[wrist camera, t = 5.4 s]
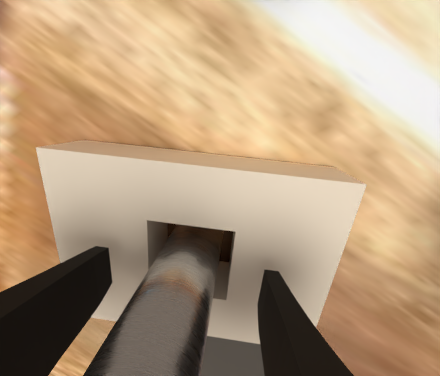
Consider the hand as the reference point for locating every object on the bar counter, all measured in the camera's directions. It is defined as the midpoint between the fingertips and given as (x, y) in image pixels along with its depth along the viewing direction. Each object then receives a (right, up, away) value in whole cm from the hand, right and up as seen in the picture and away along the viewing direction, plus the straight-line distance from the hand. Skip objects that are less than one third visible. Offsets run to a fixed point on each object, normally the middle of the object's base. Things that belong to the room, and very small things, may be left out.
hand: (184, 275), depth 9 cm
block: (0, +1, +4) cm, 4 cm away
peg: (0, +1, +4) cm, 4 cm away
